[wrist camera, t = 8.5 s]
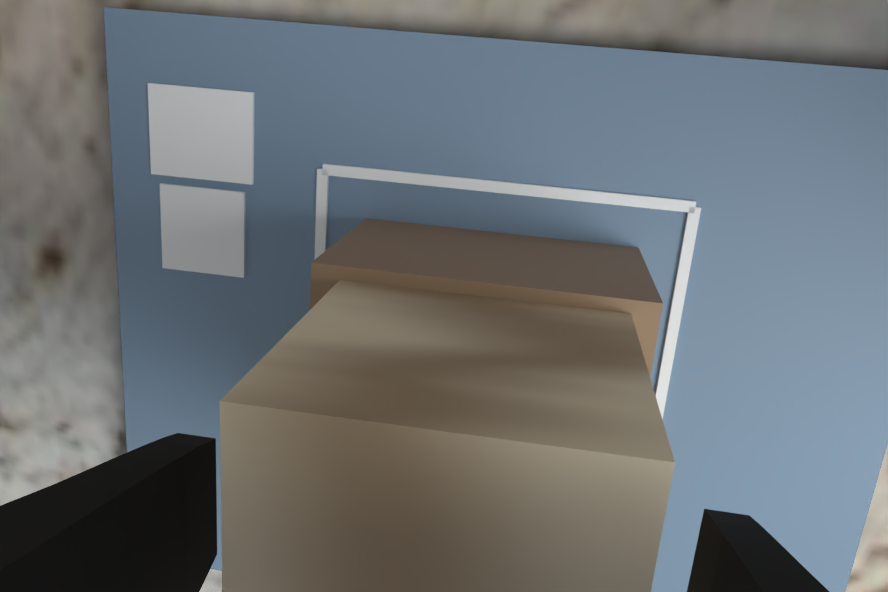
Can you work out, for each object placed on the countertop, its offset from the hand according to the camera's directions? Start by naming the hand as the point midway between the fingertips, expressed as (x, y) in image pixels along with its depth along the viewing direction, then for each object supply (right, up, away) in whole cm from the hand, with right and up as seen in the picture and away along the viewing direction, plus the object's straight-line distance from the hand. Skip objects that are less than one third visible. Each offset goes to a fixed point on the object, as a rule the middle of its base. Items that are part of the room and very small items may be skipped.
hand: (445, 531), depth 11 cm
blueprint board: (+1, +2, +7) cm, 8 cm away
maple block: (0, +1, +3) cm, 3 cm away
